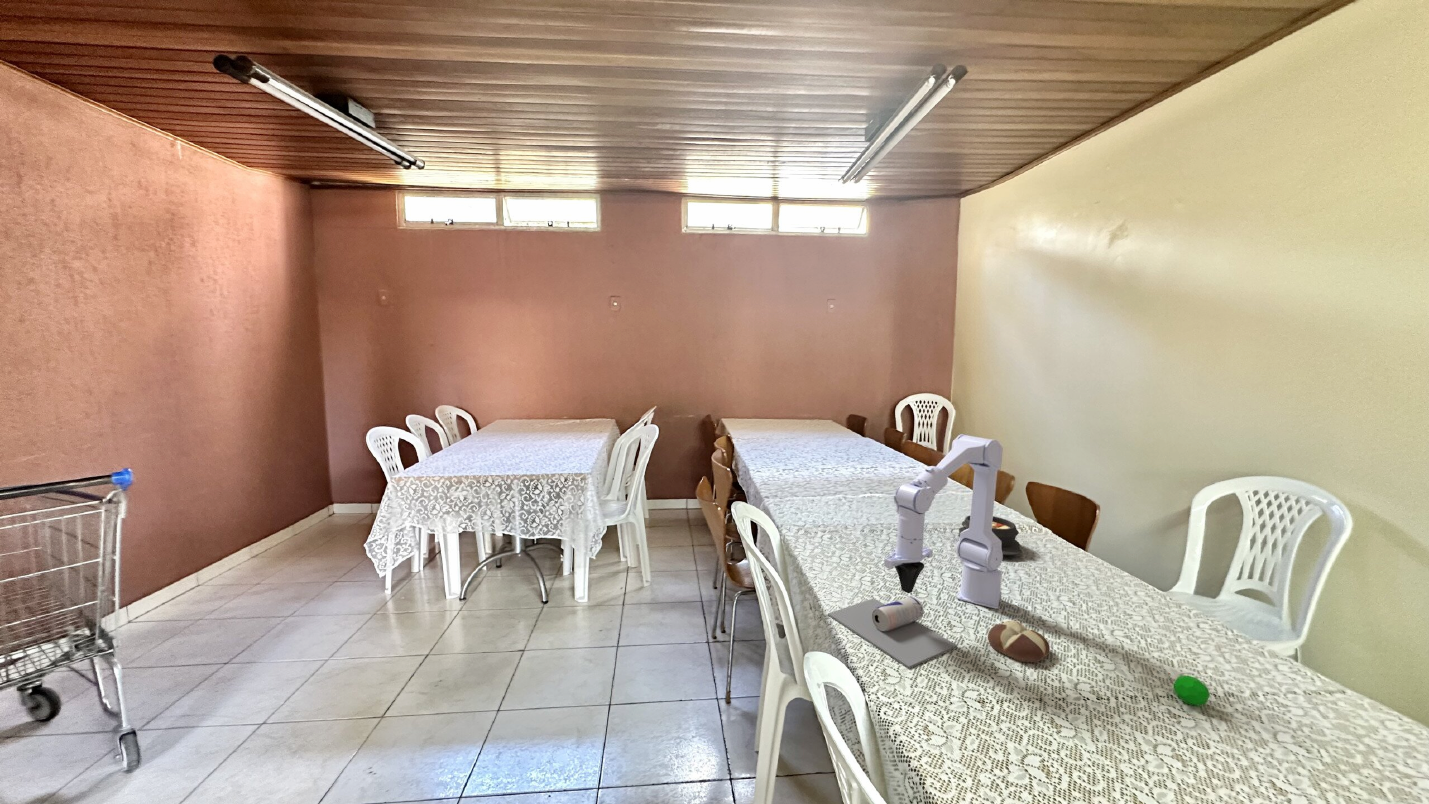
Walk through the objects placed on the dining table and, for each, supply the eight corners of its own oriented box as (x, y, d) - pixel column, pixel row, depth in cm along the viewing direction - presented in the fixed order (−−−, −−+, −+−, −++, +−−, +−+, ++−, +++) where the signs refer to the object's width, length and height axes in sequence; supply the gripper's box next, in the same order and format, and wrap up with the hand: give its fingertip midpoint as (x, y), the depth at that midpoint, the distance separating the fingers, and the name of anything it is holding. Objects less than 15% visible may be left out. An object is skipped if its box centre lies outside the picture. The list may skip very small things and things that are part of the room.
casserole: (945, 531, 187) (947, 508, 186) (998, 533, 186) (1000, 510, 185) (976, 559, 162) (978, 533, 162) (1037, 562, 162) (1039, 536, 161)
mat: (873, 600, 135) (873, 598, 135) (957, 647, 114) (957, 645, 114) (827, 615, 127) (827, 613, 127) (908, 668, 106) (908, 666, 106)
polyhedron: (1214, 708, 96) (1217, 684, 96) (1196, 713, 95) (1199, 689, 94) (1183, 691, 101) (1186, 668, 100) (1165, 696, 99) (1168, 672, 99)
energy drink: (904, 595, 128) (869, 606, 122) (921, 597, 123) (886, 609, 117) (908, 617, 127) (873, 630, 121) (926, 620, 122) (890, 633, 116)
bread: (978, 642, 117) (980, 621, 116) (1013, 632, 121) (1015, 611, 121) (1024, 670, 107) (1026, 648, 106) (1060, 658, 111) (1063, 636, 111)
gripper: (916, 525, 128) (913, 577, 129) (875, 535, 120) (872, 590, 122) (941, 534, 122) (937, 589, 123) (899, 545, 114) (896, 603, 116)
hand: (906, 591), depth 122 cm, fingers closed
